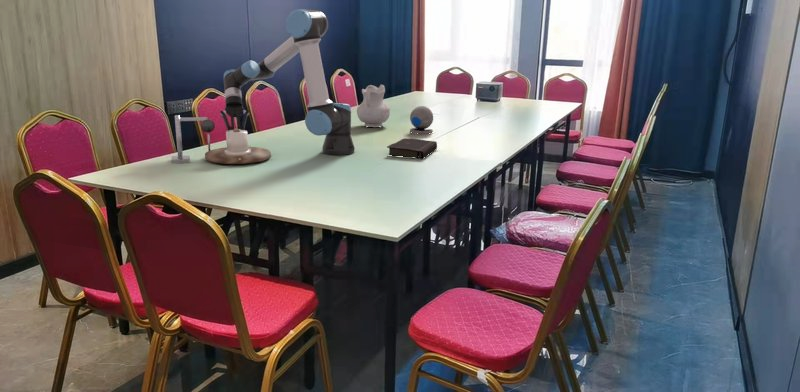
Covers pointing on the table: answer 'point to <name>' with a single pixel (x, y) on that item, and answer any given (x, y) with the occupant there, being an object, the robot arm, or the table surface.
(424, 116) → the webcam
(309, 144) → the table surface
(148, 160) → the table surface
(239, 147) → the canister
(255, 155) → the turntable
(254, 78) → the robot arm
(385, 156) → the table surface
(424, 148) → the diary
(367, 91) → the ceramic pitcher
